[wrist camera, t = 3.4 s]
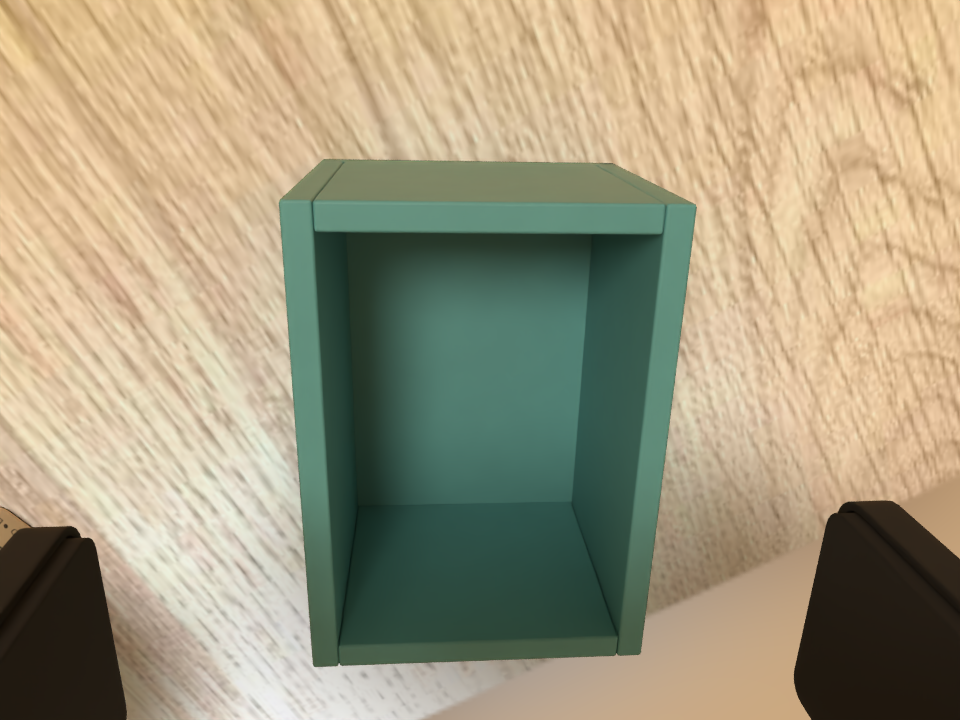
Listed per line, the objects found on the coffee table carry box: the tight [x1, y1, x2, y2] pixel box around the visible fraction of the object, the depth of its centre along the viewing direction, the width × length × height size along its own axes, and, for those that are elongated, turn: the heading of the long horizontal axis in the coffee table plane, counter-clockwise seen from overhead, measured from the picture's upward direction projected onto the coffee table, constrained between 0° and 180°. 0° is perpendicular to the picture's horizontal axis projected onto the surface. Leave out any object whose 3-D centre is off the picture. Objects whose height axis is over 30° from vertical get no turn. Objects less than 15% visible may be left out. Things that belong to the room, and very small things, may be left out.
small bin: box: [279, 159, 697, 667], centre depth 16 cm, size 6×9×6 cm
